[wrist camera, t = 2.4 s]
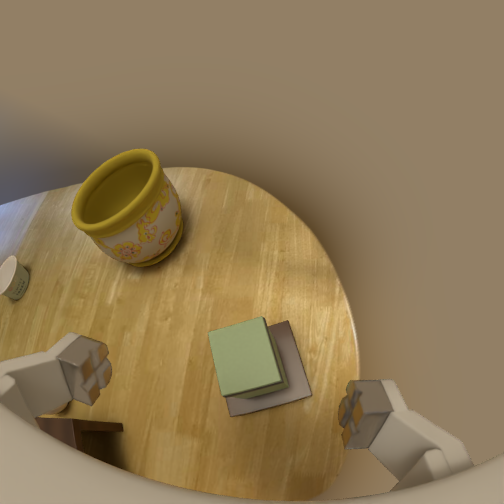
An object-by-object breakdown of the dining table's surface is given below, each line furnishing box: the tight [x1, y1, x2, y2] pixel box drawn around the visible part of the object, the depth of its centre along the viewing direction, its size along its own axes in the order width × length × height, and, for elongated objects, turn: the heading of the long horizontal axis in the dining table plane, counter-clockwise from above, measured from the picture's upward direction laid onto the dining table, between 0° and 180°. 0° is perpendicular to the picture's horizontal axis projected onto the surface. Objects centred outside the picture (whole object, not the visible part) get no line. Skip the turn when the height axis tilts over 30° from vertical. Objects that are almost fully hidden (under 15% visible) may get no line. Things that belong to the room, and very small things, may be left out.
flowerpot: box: [71, 149, 183, 267], centre depth 48 cm, size 18×18×16 cm
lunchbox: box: [208, 316, 289, 399], centre depth 31 cm, size 6×7×10 cm
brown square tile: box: [226, 320, 312, 417], centre depth 36 cm, size 11×11×3 cm
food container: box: [0, 256, 29, 300], centre depth 56 cm, size 12×12×6 cm
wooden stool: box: [35, 417, 123, 453], centre depth 28 cm, size 13×13×12 cm
